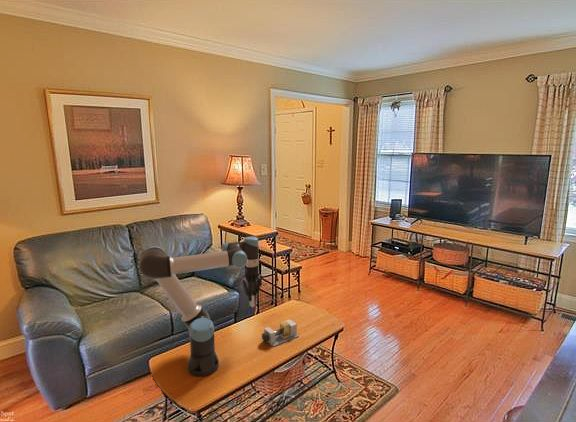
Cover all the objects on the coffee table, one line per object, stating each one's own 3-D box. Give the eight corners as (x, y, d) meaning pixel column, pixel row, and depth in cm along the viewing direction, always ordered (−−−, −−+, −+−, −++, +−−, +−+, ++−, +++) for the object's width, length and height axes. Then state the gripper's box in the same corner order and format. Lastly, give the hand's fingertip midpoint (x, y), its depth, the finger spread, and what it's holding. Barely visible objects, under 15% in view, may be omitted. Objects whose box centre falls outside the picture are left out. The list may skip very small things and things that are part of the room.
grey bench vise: (273, 347, 187) (273, 335, 186) (262, 338, 196) (262, 326, 195) (298, 336, 198) (298, 325, 196) (287, 328, 207) (287, 317, 205)
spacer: (283, 337, 196) (284, 326, 194) (279, 334, 199) (279, 323, 198) (289, 335, 198) (289, 323, 197) (285, 331, 201) (285, 320, 200)
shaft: (266, 343, 188) (266, 335, 187) (261, 339, 192) (261, 332, 191) (284, 336, 195) (284, 329, 194) (279, 332, 199) (279, 325, 198)
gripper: (244, 269, 178) (244, 311, 182) (265, 265, 185) (265, 305, 189) (237, 265, 184) (238, 306, 188) (258, 261, 191) (258, 300, 195)
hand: (252, 305), depth 189 cm, fingers closed
